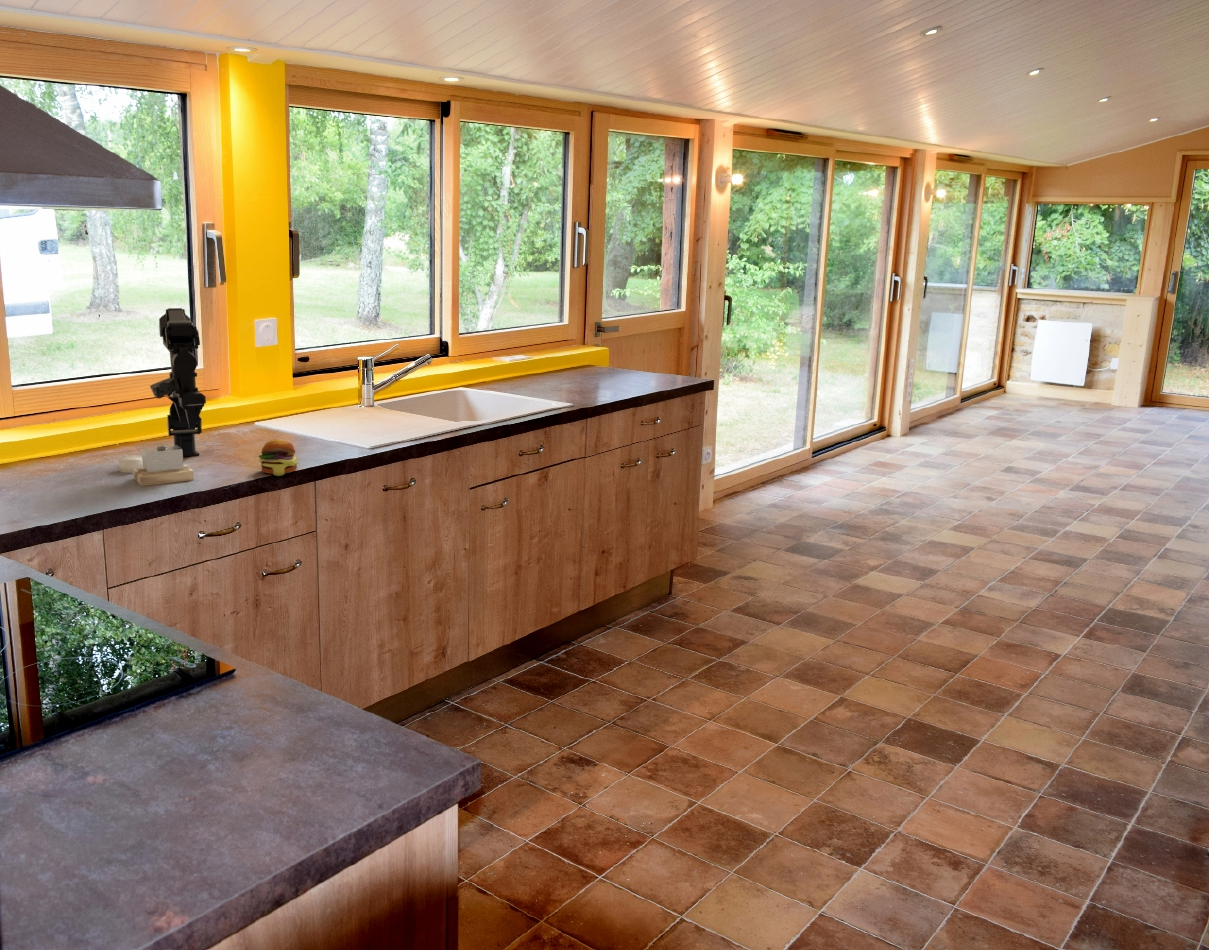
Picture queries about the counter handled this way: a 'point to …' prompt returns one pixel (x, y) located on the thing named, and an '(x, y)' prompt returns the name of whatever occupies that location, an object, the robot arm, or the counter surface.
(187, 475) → the stand
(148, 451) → the block
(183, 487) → the counter surface
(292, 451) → the cheeseburger
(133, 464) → the cream rounded block
